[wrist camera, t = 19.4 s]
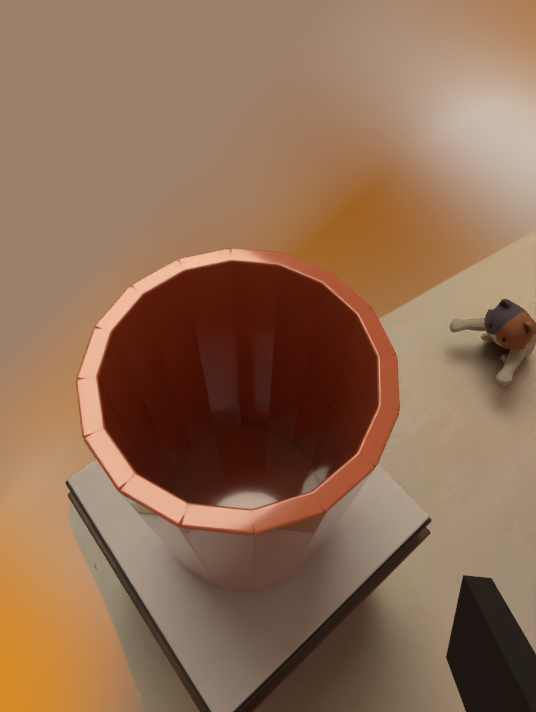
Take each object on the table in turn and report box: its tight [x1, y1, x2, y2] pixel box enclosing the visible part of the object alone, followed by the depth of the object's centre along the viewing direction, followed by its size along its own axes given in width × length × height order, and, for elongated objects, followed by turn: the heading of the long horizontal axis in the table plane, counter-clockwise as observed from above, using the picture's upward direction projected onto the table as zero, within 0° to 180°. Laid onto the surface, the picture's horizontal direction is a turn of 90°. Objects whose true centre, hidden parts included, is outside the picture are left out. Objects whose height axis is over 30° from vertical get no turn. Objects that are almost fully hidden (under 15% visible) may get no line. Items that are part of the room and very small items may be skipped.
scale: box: [66, 459, 431, 712], centre depth 23 cm, size 12×12×3 cm
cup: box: [76, 248, 400, 591], centre depth 16 cm, size 7×7×12 cm
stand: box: [68, 492, 430, 712], centre depth 31 cm, size 13×13×16 cm
